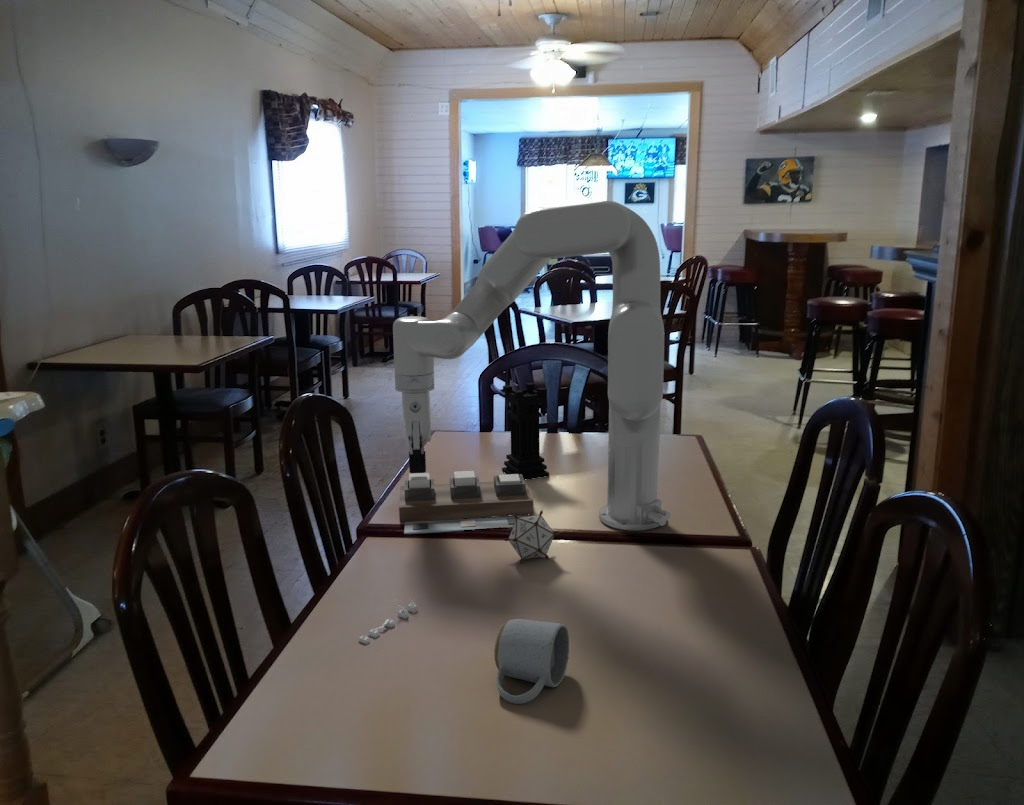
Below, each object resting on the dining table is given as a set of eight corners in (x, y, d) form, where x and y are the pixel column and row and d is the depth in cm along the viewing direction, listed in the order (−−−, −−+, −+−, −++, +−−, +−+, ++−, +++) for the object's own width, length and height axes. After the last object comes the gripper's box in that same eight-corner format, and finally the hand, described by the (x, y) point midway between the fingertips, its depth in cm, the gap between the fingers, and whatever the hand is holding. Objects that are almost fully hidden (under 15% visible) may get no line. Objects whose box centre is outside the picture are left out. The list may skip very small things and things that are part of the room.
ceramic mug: (513, 654, 109) (512, 603, 107) (570, 666, 106) (570, 614, 104) (481, 699, 100) (479, 645, 98) (543, 714, 97) (543, 657, 95)
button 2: (520, 491, 160) (520, 480, 160) (500, 492, 160) (500, 481, 159) (518, 485, 164) (518, 473, 164) (498, 486, 164) (498, 474, 163)
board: (537, 526, 152) (537, 499, 150) (398, 534, 149) (397, 507, 148) (525, 493, 169) (525, 469, 168) (401, 499, 166) (399, 475, 165)
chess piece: (501, 471, 184) (500, 385, 179) (533, 466, 187) (532, 382, 182) (516, 481, 177) (515, 393, 172) (549, 476, 180) (549, 389, 175)
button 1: (429, 490, 158) (429, 479, 158) (409, 491, 158) (408, 480, 157) (429, 484, 162) (429, 472, 162) (409, 485, 162) (409, 473, 161)
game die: (539, 581, 138) (552, 552, 131) (494, 562, 139) (504, 532, 131) (555, 540, 144) (569, 510, 136) (512, 522, 145) (522, 491, 137)
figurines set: (367, 648, 112) (366, 629, 111) (352, 642, 114) (351, 624, 113) (422, 610, 122) (421, 593, 121) (407, 605, 123) (406, 588, 123)
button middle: (475, 488, 159) (475, 477, 159) (455, 489, 159) (454, 478, 158) (474, 481, 163) (473, 470, 162) (454, 482, 163) (454, 471, 162)
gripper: (434, 389, 148) (437, 483, 152) (433, 372, 162) (436, 459, 167) (393, 390, 147) (397, 485, 152) (396, 373, 162) (399, 460, 166)
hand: (417, 471), depth 159 cm, fingers closed
